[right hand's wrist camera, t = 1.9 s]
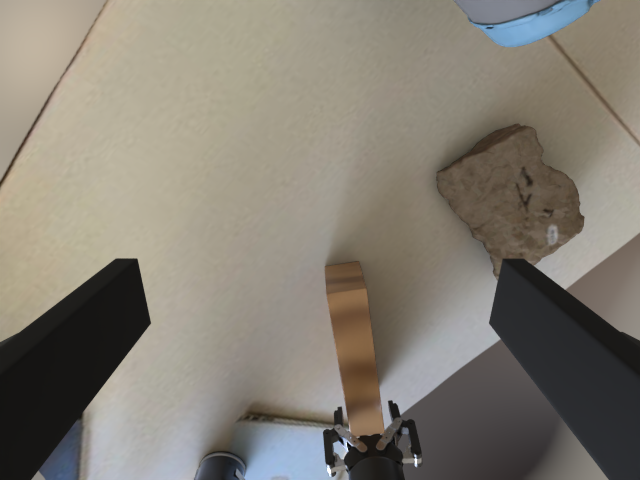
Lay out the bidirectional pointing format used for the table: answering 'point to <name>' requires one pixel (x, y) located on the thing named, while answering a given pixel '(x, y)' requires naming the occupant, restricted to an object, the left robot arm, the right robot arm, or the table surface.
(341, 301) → the bar
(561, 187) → the stone
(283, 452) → the table surface
